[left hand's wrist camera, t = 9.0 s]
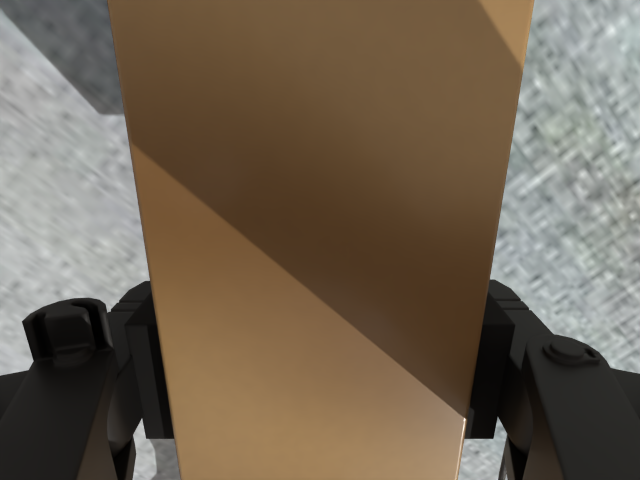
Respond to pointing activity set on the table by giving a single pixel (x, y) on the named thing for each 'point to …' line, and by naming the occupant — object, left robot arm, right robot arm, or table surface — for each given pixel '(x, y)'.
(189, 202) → the bar
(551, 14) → the table surface
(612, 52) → the table surface
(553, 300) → the table surface
